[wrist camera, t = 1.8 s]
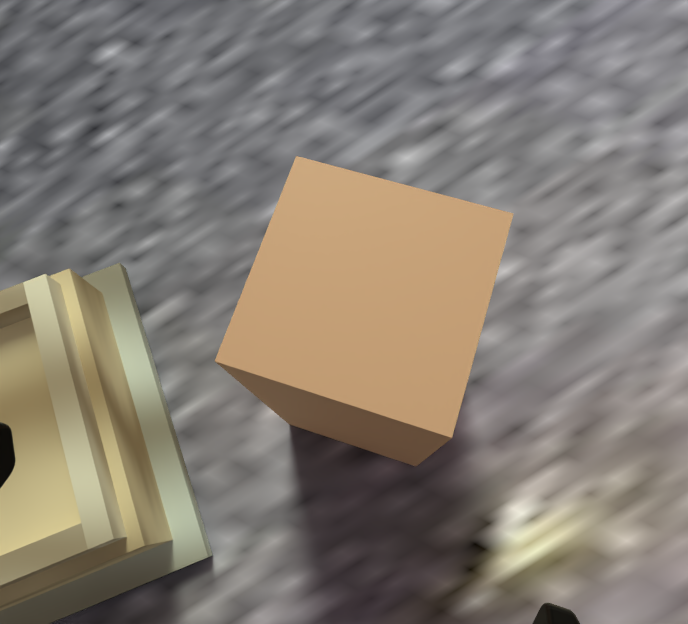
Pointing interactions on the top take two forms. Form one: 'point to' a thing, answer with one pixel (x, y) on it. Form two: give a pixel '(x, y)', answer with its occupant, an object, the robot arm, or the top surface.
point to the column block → (366, 309)
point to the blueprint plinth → (86, 451)
